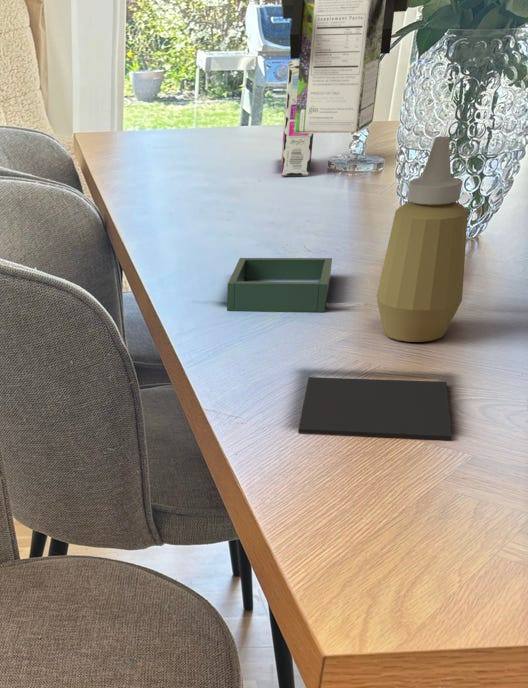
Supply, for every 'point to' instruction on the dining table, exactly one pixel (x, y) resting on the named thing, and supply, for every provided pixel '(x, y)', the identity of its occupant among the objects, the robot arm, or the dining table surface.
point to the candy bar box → (294, 144)
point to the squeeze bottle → (425, 255)
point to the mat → (376, 408)
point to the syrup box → (338, 65)
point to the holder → (279, 285)
